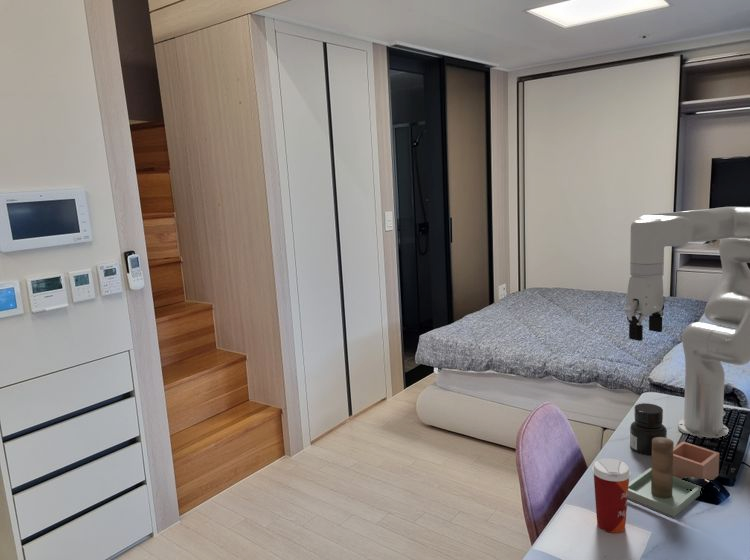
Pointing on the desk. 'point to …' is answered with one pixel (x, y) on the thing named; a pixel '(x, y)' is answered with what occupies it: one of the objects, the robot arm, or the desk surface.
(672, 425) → the desk surface
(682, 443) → the terracotta box
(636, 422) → the ink bottle
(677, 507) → the sage tray
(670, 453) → the walnut peg
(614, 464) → the paper cup
